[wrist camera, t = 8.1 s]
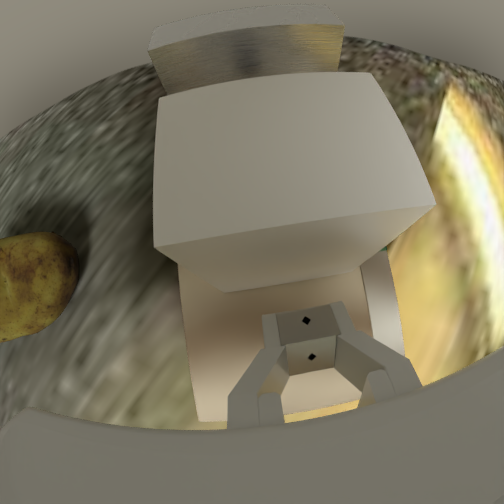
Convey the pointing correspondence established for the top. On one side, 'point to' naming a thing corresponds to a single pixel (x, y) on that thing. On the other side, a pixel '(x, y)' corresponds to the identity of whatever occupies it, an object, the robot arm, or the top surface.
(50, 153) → the top surface
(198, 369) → the wooden base board
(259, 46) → the brushed metal plate
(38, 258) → the potato
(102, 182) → the top surface
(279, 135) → the block
